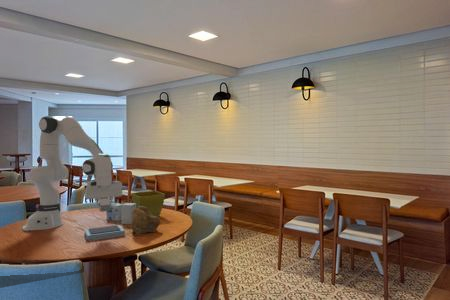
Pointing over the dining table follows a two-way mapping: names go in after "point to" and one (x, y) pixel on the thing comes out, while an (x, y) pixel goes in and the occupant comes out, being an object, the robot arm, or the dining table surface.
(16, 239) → the dining table surface
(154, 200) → the flower pot
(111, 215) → the light bulb box
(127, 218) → the supplement box
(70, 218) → the dining table surface
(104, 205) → the block
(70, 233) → the dining table surface
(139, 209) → the rough brown rock
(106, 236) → the grey shallow rectangular tray
